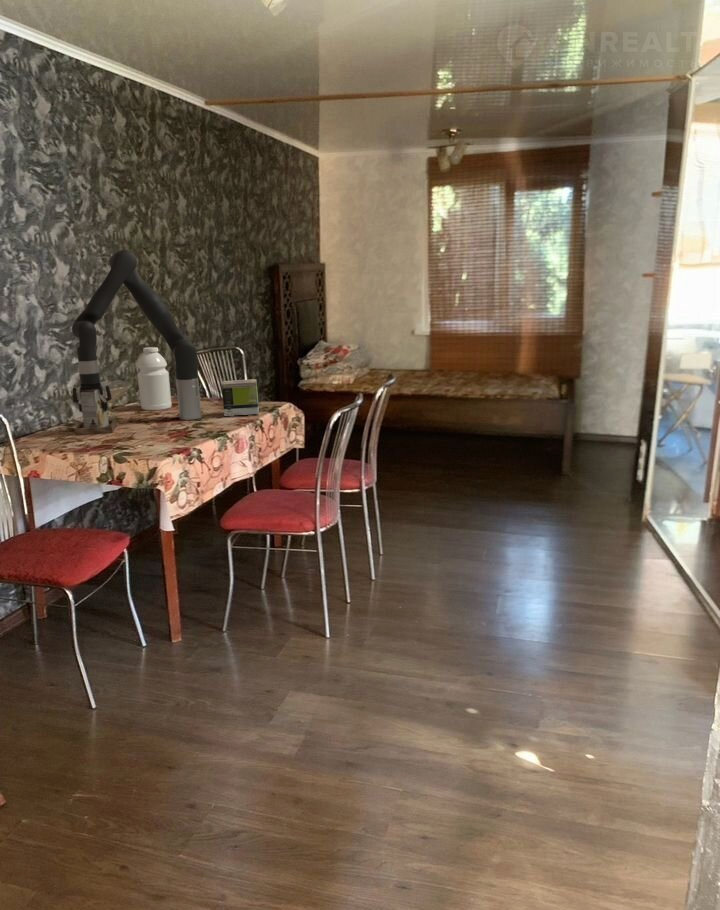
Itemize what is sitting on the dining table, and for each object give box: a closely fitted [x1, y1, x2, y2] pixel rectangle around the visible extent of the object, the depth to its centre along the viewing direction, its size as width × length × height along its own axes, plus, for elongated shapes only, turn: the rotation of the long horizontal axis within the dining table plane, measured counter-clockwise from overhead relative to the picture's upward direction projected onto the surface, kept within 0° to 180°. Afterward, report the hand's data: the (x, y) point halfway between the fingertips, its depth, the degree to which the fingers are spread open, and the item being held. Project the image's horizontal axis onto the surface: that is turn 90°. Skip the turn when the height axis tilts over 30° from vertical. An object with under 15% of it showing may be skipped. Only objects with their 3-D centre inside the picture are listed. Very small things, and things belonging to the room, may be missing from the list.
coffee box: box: [79, 389, 109, 428], centre depth 278 cm, size 9×6×16 cm
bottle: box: [136, 346, 173, 411], centre depth 321 cm, size 14×14×28 cm
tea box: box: [221, 378, 260, 417], centre depth 304 cm, size 15×10×15 cm
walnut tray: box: [73, 419, 117, 436], centre depth 280 cm, size 14×14×2 cm
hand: (94, 411), depth 278 cm, fingers open, 8 cm apart
